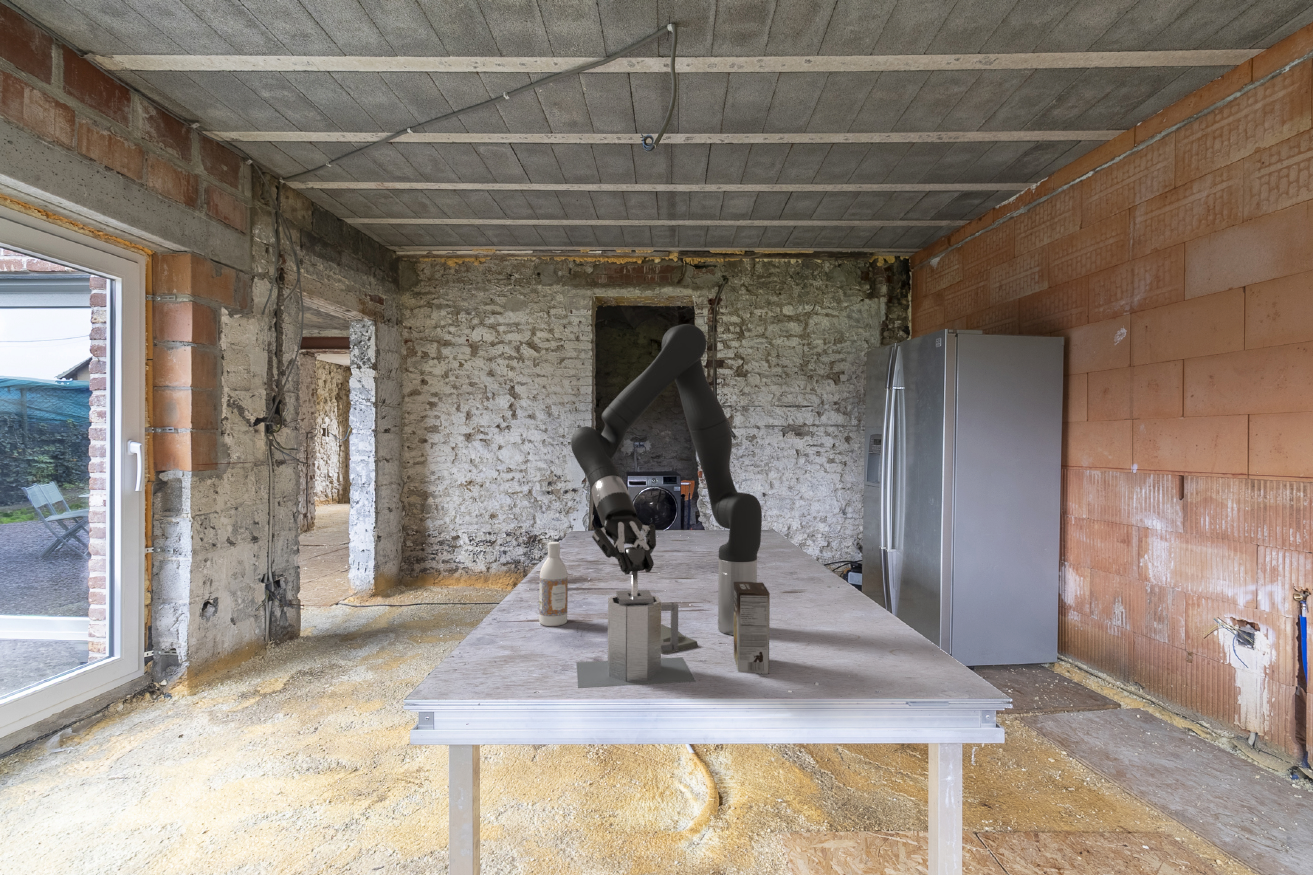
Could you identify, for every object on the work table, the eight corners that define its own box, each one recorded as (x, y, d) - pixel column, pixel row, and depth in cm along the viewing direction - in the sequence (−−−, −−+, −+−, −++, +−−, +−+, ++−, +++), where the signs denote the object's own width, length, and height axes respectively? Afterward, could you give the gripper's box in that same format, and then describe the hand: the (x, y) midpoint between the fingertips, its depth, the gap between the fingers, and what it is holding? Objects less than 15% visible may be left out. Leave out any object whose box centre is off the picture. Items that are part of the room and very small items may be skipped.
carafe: (672, 660, 126) (673, 587, 126) (682, 678, 116) (682, 599, 116) (606, 663, 123) (607, 589, 124) (610, 682, 114) (611, 602, 114)
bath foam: (545, 628, 148) (546, 545, 148) (534, 621, 153) (535, 541, 154) (571, 624, 151) (572, 543, 152) (560, 617, 157) (560, 539, 157)
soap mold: (649, 627, 151) (649, 613, 151) (699, 650, 135) (699, 634, 135) (613, 634, 145) (613, 619, 146) (660, 659, 129) (660, 642, 129)
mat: (682, 659, 127) (682, 657, 127) (696, 683, 115) (696, 681, 115) (576, 664, 124) (576, 662, 124) (578, 689, 111) (578, 687, 111)
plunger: (648, 651, 123) (649, 545, 123) (653, 663, 116) (654, 551, 117) (615, 652, 122) (615, 546, 122) (618, 665, 115) (619, 552, 116)
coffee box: (732, 657, 129) (733, 580, 129) (763, 658, 128) (763, 581, 129) (736, 673, 120) (737, 591, 120) (769, 674, 119) (770, 591, 119)
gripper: (637, 512, 134) (664, 578, 123) (576, 515, 127) (599, 585, 117) (649, 489, 130) (678, 556, 119) (586, 492, 123) (611, 563, 112)
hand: (639, 570), depth 118 cm, fingers closed on plunger, 4 cm apart
